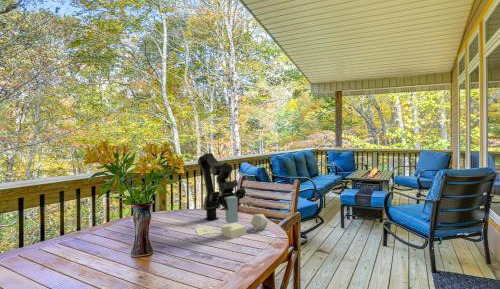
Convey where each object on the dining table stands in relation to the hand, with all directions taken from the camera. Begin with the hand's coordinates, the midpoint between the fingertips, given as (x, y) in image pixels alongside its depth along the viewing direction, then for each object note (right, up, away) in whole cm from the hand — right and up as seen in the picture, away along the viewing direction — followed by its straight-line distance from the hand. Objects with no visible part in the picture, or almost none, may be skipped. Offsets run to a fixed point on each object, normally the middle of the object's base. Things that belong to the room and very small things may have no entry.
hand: (232, 209), depth 147 cm
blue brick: (0, -7, +1) cm, 7 cm away
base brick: (0, -13, +2) cm, 13 cm away
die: (+14, -13, +9) cm, 21 cm away
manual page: (-15, -13, +9) cm, 22 cm away
